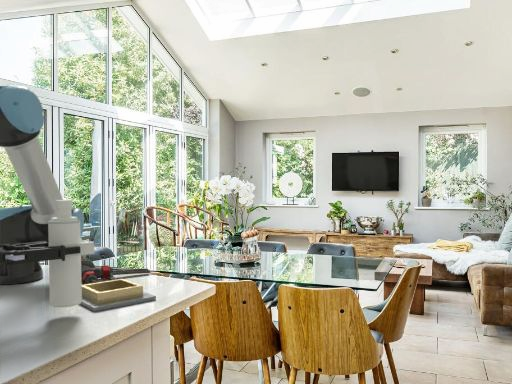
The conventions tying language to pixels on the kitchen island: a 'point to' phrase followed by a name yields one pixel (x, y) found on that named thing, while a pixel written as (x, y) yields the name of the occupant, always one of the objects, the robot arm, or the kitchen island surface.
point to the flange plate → (113, 295)
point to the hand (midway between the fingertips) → (87, 245)
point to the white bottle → (69, 271)
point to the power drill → (103, 272)
